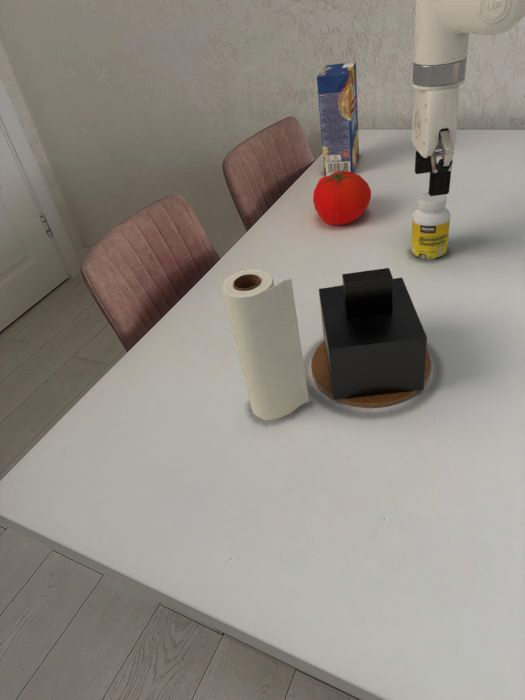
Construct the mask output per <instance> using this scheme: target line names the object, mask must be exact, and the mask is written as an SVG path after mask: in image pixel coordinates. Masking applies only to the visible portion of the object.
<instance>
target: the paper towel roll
mask: <svg viewBox="0 0 525 700" xmlns="http://www.w3.org/2000/svg"><path fill="white" fill-rule="evenodd" d="M221 292H222V297H223V301H224V304H225V308H226V312H227V316H228V320H229V324H230V328H231V333H232V336H233V341H234V344H235V348H236V349H235V350H236V352H237V356H238V361H239V364H240V367H241V372H242V377H243V381H244V385H245V388H246V392H247V396H248V398H249V399H248V400H249V404H250V408H251V410H252V413H253V414H254V415H255V417H257V418H258V419H261V420H265V421H276V420H278V419H280V418H284V417H286V416H288V415H291V414H292V413H294V412H295V411H296V410H297V409H299V407H301V406H303V405H304V404H308V403H310V397H309V393H308V391H309V390H308V387H307V378H306V371H305V364H304V358H303V350H302V344H301V343H302V342H301V337H300V330H299V329H300V328H299V323H298V316H297V315H298V314H297V308H296V301H295V295H294V289H293V281H292V278H287V279H284V280H282V281H281V282H278V283H276V284H275V283H274V278H273V277H272V275H271V273H270V272H268V271H266V270H263V269H256V268H253V269H244V270H241V271H237V272H235V273H233V274H231V275H229V276H228V277H226V278H225V279H224V281H222V285H221Z"/></svg>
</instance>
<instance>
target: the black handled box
mask: <svg viewBox="0 0 525 700" xmlns="http://www.w3.org/2000/svg"><path fill="white" fill-rule="evenodd" d="M341 278H342V279H341V280H342V284H341V285H334V286H329V287H323V288H318V294H319V304H320V305H319V306H320V315H321V323H322V324H321V325H322V334H323V340H324V341H322V342H321V343H320V344H319V345H318V347H316V349H315V351H314V353H313V355H312V357H311V363H310V370H311V376H312V378H313V380H314V383H315V384H316V386H317V387H318V388H319V390H321V392H323V393H324V394H325V395H326V396H328V397H329V398H331V399H332V400H333V401H336V402H339V403H340V404H341V403H342V404H343V405H347V406H352V407H358V408H367V409H368V408H369V409H371V408H372V409H373V408H383V407H384V408H385V407H389V406H394V405H397V404H400V403H402V402H405V401H407V400H409V399H411V398H413V397H414V396H415V395H417V394H418V393H419V392H420V391H424V390H425V386H426V384H427V383H428V381H429V379H430V376H431V373H432V372H431V371H432V358H431V355H430V353H429V351H428V349H427V345H428V344H427V343H428V336H427V334H426V332H425V330H424V327H423V325H422V322H421V320H420V318H419V315H418V312H417V310H416V307H415V305H414V303H413V300H412V297H411V295H410V293H409V291H408V288H407V286H406V284H405V281H404V279H403V277H396V278H394V277H393V275H392V272H391V270H390V267H386V268H385V267H384V268H378V269H369V270H364V271H357V272H355V271H354V272H351V273H350V272H348V273H342V274H341Z"/></svg>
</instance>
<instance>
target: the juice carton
mask: <svg viewBox="0 0 525 700" xmlns="http://www.w3.org/2000/svg"><path fill="white" fill-rule="evenodd" d="M316 83H317V85H316V86H317V97H318V108H319V122H320V133H321V146H322V147H321V148H322V157H323V159H322V160H323V161H322V162H323V171H324V172H323V173H324V177H326V176H329V175H332V174H333V173H334V172H337V171H342V170H343V169H344V168H345V169H344V171H349V172H352V173H355V171H356V168H357V165H358V163H359V160H360V144H359V143H360V141H359V140H360V139H359V116H358V113H359V112H358V86H357V83H358V82H357V62H356V61H352V62H351V61H350V62H343V63H335V64H326V65H325V66H324V68H323V69H322V70H321V71H320V72H319V74H318V75H317V76H316Z"/></svg>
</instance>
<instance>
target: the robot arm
mask: <svg viewBox="0 0 525 700" xmlns="http://www.w3.org/2000/svg"><path fill="white" fill-rule="evenodd" d="M524 16H525V0H415V20H414V21H415V23H414V44H413V45H414V47H413V69H412V88H413V89H415V90H414V97H413V107H412V117H411V118H412V120H411V131H410V140H411V143H412V145H413V146H414V148H415V159H414V173H415V174H416V175H422V174H427V173H428V174H429V181H428V193H429V195H430V196H437V195H444V194H445V195H448V194H449V193H450V188H451V178H452V171H453V169H452V168H453V164H454V162H453V161H454V159H453V158H454V153H455V150H456V149H455V148H456V141H457V135H458V134H457V133H458V122H459V121H458V120H459V101H460V100H459V95H460V94H459V91H460V90H459V89H460V86H461V85H463V84H465V79H466V71H467V62H468V61H467V60H468V52H469V51H468V50H469V40H470V34H473V35H480V36H481V35H482V36H496V35H501V34H504V33H506V32H508V31H510V30H512V29H513V28H514V27H516V26H517V25H518V24H519V23H520V21H522V19H523V18H524ZM437 158H440V159H439V160H438V159H437Z"/></svg>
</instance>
